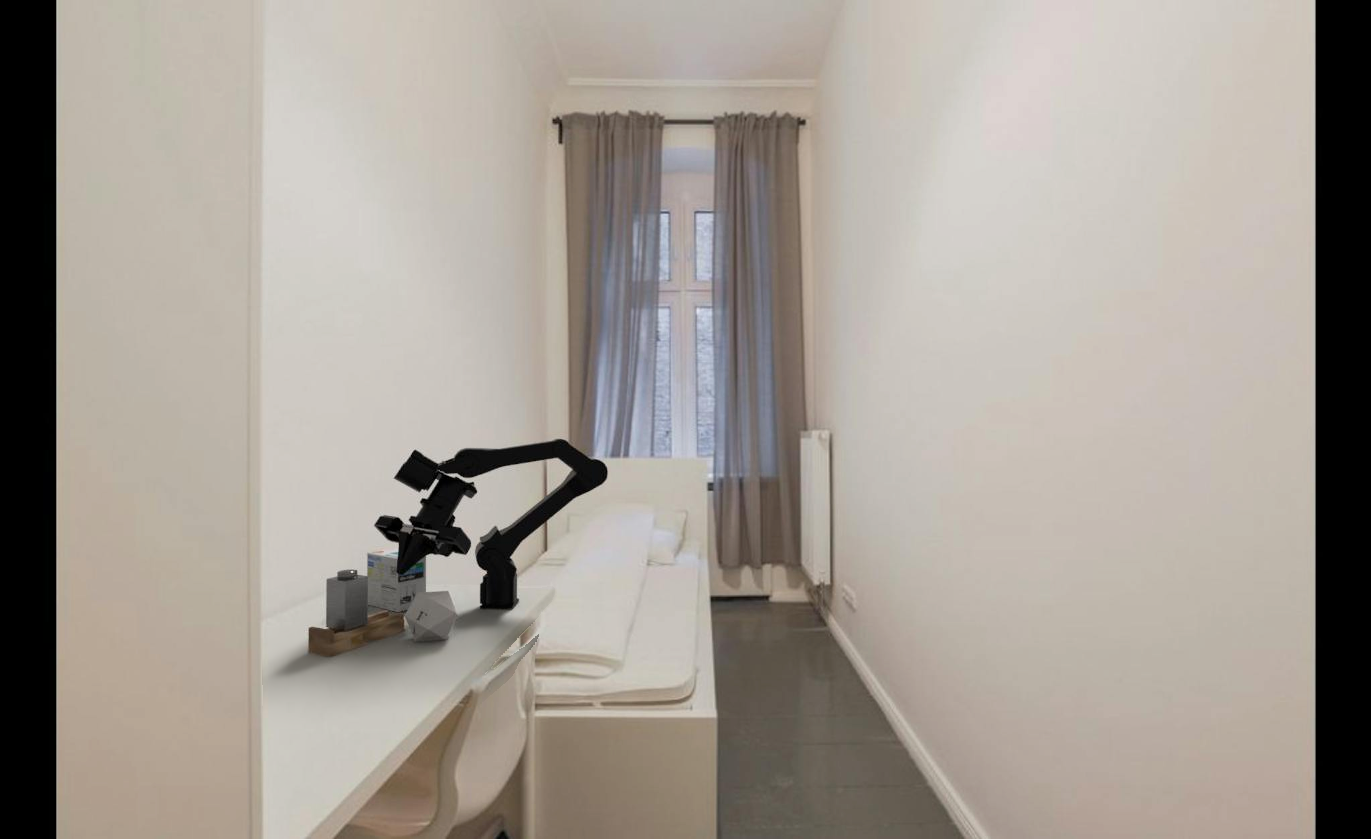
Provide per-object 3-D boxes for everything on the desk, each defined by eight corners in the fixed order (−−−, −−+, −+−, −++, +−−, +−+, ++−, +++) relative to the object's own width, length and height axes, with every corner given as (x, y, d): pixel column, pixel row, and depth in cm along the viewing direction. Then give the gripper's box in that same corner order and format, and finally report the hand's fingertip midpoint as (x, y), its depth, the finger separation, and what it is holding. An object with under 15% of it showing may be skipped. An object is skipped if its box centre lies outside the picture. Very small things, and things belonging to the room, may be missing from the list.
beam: (383, 626, 122) (383, 604, 122) (404, 630, 120) (405, 608, 120) (307, 652, 109) (308, 627, 109) (330, 657, 107) (330, 632, 107)
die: (397, 640, 117) (391, 605, 111) (432, 605, 124) (428, 571, 118) (435, 661, 115) (431, 627, 109) (468, 625, 122) (466, 591, 116)
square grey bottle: (349, 625, 115) (349, 567, 115) (367, 628, 113) (367, 570, 113) (326, 632, 111) (326, 572, 111) (344, 636, 109) (345, 575, 109)
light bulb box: (427, 605, 137) (427, 552, 137) (397, 613, 131) (398, 558, 131) (394, 597, 142) (395, 546, 142) (365, 605, 137) (365, 552, 137)
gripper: (498, 532, 135) (460, 603, 125) (422, 520, 141) (381, 586, 131) (475, 500, 127) (433, 573, 117) (395, 488, 133) (349, 557, 123)
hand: (399, 573), depth 122 cm, fingers closed
